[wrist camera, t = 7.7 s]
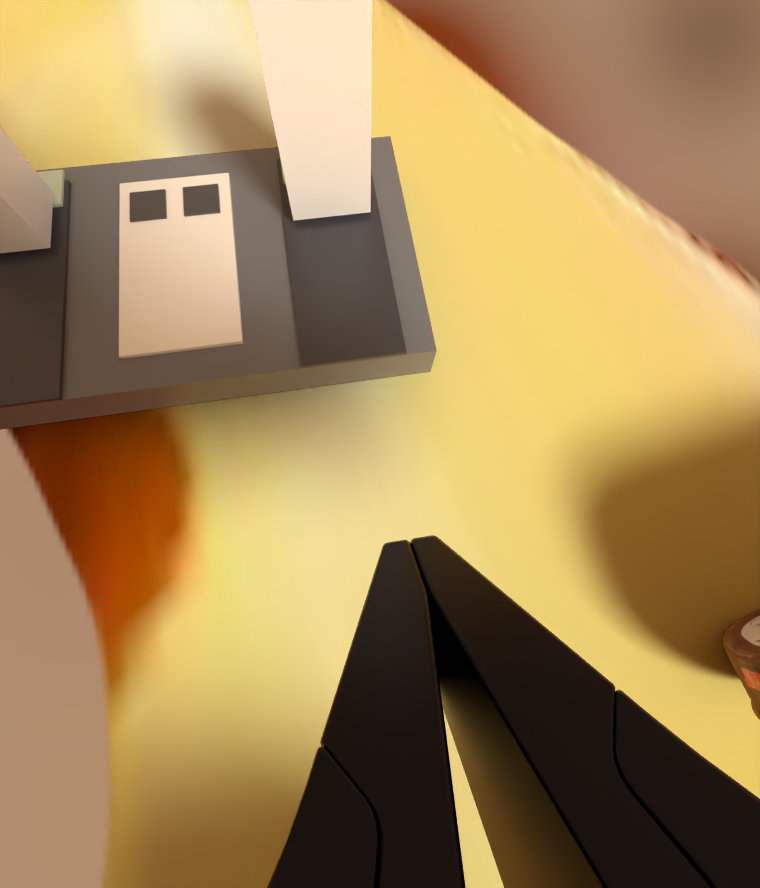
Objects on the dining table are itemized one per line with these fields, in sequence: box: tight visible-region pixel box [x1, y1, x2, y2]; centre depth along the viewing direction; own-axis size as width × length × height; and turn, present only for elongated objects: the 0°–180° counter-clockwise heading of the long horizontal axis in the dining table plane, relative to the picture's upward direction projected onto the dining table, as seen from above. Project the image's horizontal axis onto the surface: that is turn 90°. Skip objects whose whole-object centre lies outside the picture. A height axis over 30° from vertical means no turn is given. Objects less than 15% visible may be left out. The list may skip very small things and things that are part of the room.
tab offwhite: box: [248, 0, 372, 221], centre depth 17 cm, size 3×4×8 cm
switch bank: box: [0, 136, 436, 429], centre depth 21 cm, size 12×21×2 cm, turn 99°
